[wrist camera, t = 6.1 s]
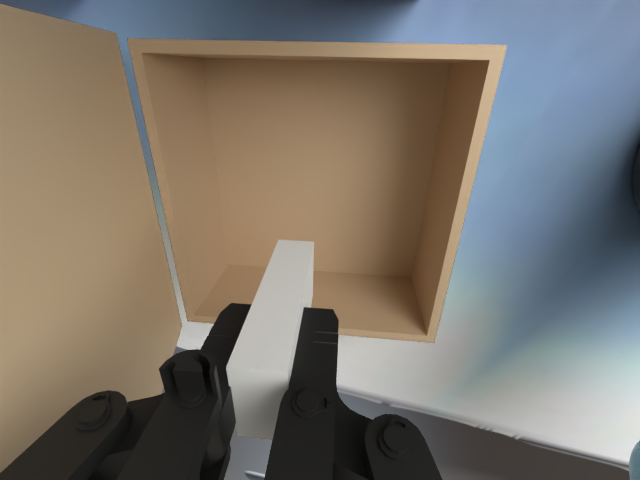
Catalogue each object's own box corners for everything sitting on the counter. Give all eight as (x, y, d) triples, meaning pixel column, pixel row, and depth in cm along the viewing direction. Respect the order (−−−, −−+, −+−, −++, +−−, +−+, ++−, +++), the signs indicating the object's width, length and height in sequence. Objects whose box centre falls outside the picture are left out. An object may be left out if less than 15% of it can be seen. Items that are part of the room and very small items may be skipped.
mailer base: (458, 53, 22) (507, 44, 15) (416, 279, 30) (434, 343, 23) (197, 48, 23) (127, 38, 16) (225, 264, 31) (187, 321, 24)
